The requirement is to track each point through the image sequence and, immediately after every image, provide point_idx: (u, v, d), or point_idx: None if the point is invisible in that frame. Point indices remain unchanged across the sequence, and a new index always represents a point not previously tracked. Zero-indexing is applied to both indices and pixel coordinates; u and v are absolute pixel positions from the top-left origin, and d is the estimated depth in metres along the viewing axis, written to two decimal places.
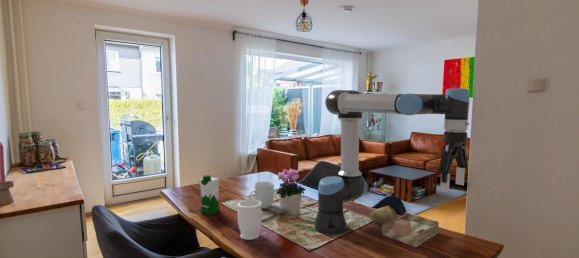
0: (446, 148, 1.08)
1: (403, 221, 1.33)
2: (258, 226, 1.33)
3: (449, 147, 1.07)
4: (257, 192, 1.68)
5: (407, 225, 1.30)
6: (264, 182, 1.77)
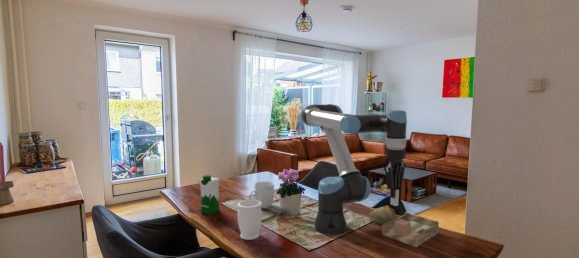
0: (387, 170, 1.21)
1: (403, 221, 1.33)
2: (258, 226, 1.33)
3: (388, 169, 1.20)
4: (257, 192, 1.68)
5: (407, 225, 1.30)
6: (264, 182, 1.77)
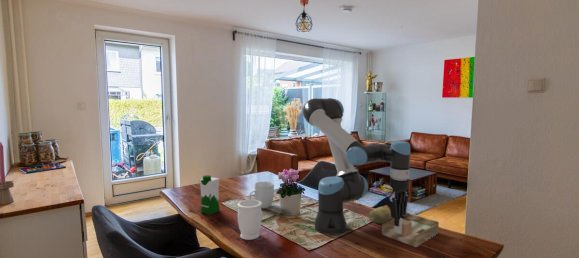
0: (391, 200, 1.25)
1: (404, 221, 1.33)
2: (258, 226, 1.33)
3: (392, 199, 1.24)
4: (257, 192, 1.68)
5: (408, 225, 1.30)
6: (264, 182, 1.77)
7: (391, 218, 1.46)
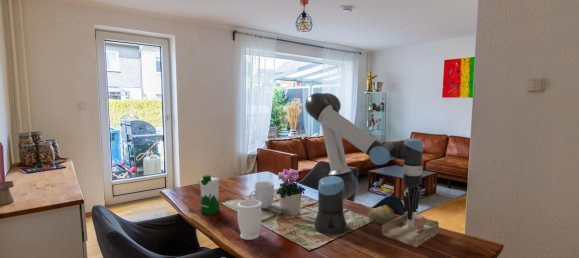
0: (404, 194, 1.32)
1: (417, 215, 1.39)
2: (258, 226, 1.33)
3: (406, 194, 1.31)
4: (257, 192, 1.68)
5: (421, 219, 1.37)
6: (264, 182, 1.77)
7: (390, 218, 1.47)
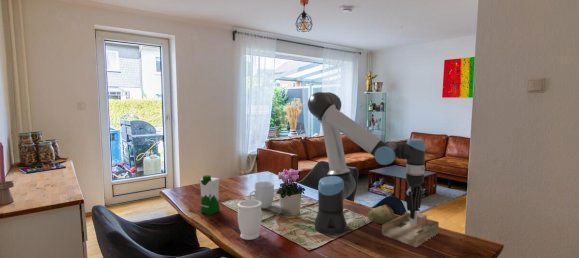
0: (407, 194, 1.33)
1: (419, 214, 1.41)
2: (258, 226, 1.33)
3: (409, 193, 1.32)
4: (257, 192, 1.68)
5: (423, 218, 1.39)
6: (264, 182, 1.77)
7: (390, 218, 1.47)
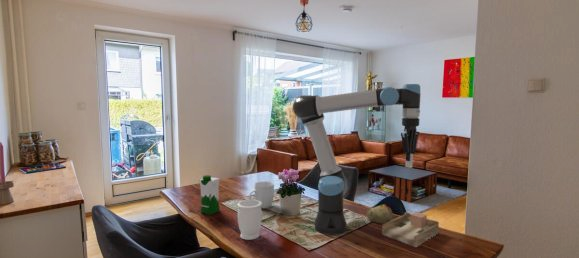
0: (403, 135, 1.39)
1: (419, 214, 1.41)
2: (258, 226, 1.33)
3: (405, 135, 1.39)
4: (257, 192, 1.68)
5: (423, 218, 1.39)
6: (264, 182, 1.77)
7: (389, 217, 1.48)
